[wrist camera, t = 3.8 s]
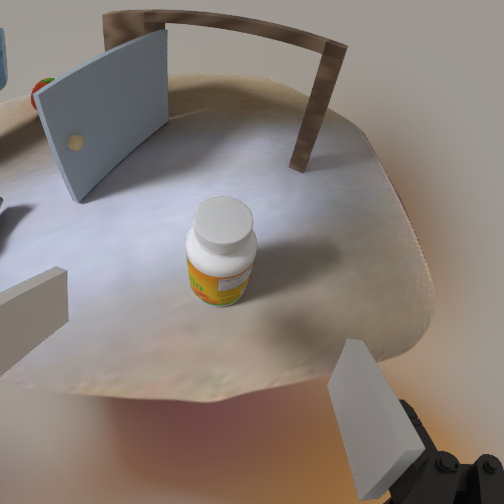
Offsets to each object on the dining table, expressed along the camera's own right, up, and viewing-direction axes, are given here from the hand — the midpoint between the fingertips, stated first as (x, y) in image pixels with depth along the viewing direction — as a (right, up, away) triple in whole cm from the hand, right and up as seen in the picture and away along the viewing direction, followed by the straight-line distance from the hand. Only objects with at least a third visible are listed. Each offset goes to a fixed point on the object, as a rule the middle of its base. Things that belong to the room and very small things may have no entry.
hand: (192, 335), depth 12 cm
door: (-15, +17, +23) cm, 32 cm away
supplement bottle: (-1, +1, +16) cm, 16 cm away
